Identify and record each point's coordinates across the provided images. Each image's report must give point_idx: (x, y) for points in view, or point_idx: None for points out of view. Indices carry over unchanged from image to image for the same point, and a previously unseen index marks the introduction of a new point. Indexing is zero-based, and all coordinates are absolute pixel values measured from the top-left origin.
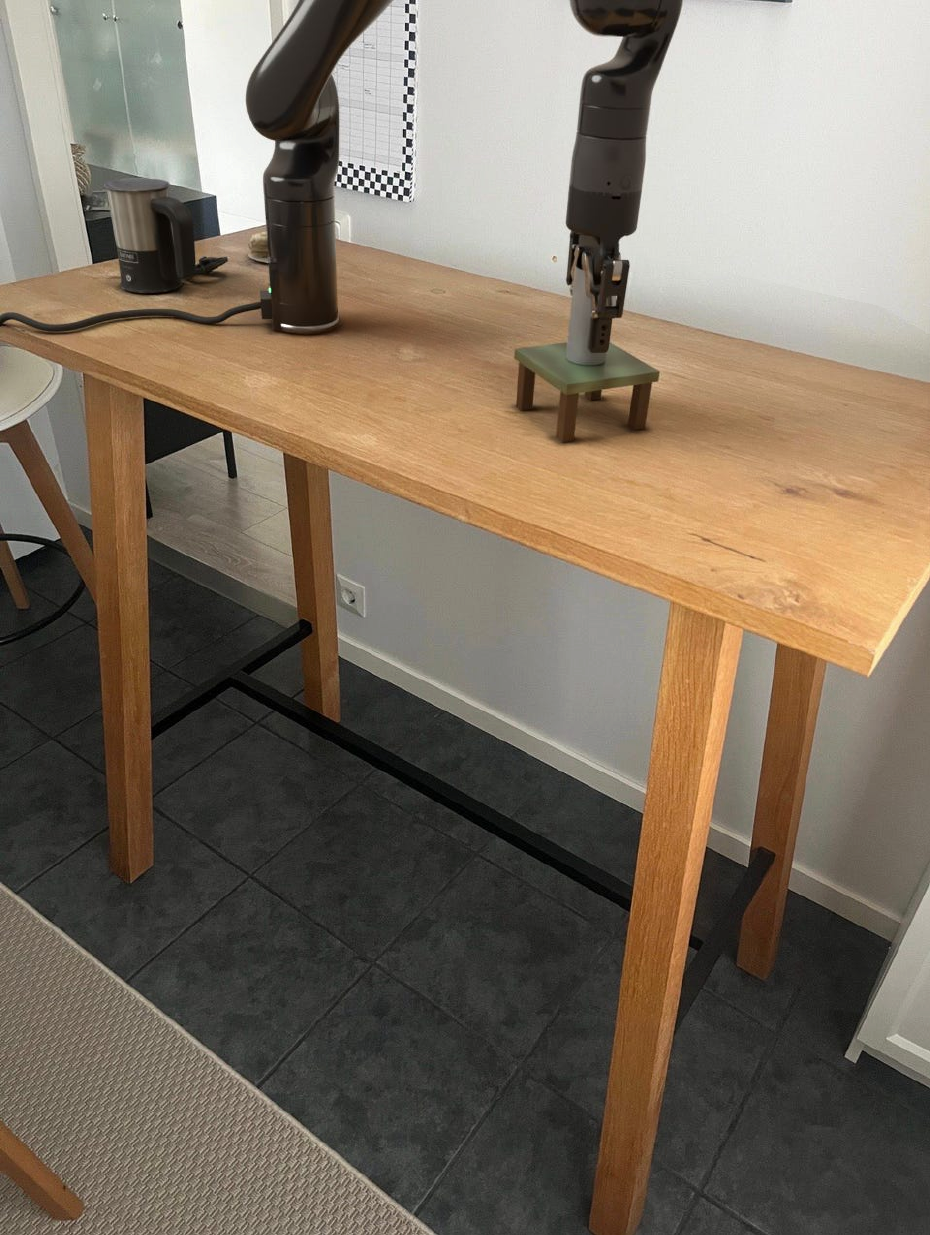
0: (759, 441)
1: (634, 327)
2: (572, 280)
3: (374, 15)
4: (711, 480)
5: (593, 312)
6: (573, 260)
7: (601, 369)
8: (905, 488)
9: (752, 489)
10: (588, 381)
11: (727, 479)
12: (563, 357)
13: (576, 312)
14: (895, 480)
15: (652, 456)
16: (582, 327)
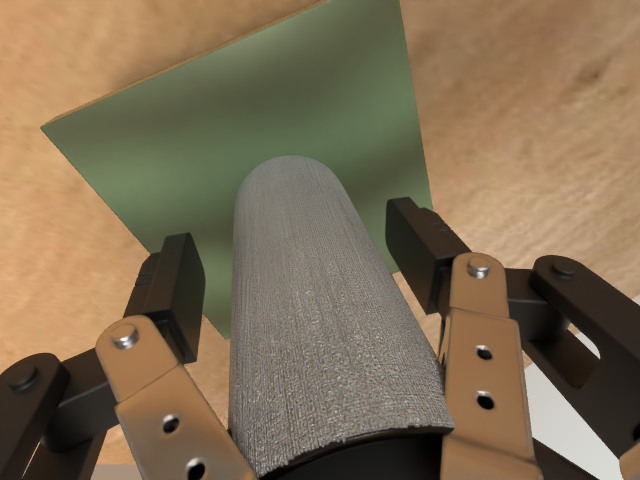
0: (211, 369)
1: (625, 274)
2: (504, 296)
3: None
4: (40, 315)
5: (111, 341)
6: (625, 362)
7: (214, 236)
8: (109, 457)
9: (31, 354)
10: (100, 196)
11: (55, 332)
12: (301, 147)
13: (267, 255)
14: (128, 452)
15: (110, 250)
16: (241, 247)
